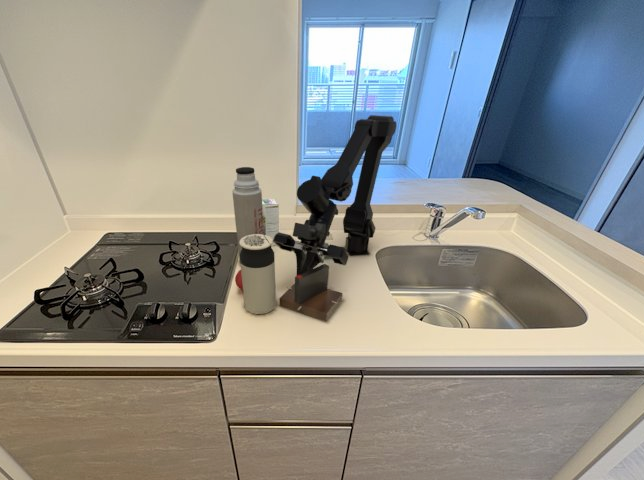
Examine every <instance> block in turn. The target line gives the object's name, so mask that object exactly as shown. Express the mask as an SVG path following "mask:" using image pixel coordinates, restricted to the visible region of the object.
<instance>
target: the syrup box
mask: <svg viewBox="0 0 644 480" xmlns="http://www.w3.org/2000/svg"><path fill="white" fill-rule="evenodd" d="M262 210H263V230H264V235H267V236H269V237H271V238H272V240H273V239H274V236H275V235H276V234H277V233H280V203H278V201H277V200H276V199H275V198H262ZM271 246H277V245H276V244H275V243H274V242H273V243H272V245H271Z"/></svg>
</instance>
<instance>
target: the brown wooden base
mask: <svg viewBox="0 0 644 480" xmlns="http://www.w3.org/2000/svg"><path fill="white" fill-rule="evenodd" d="M286 289H287V290H286V291H285V292H284V293H283V294H282V295H281V296H280V297H279V298H278V299H279V302H278V303H279V307H281V308H284V309H287V310H290V311H293V312H296V313H299V314H302V315H305V316H308V317H311V318H314V319H317V320H320V321H322V322H327V321H328V320H329V319H330V317H331V316H332V315H333V313H334V312H335V310H336V309H337V308H338V307H339V305H340V304H341V303H342V301H343V292H341V291H337V290H334V289H331V288H327V290H325V291H323V292H321V293H319V294H318V295H316V296H314V297H312V298H310V299H308V300H306V301H304V302H302V303H300V304H298V303H296V302H295V283H293V284H292V285H291V286H290V287H289V286H288V287H286Z"/></svg>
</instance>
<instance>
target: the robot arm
mask: <svg viewBox="0 0 644 480" xmlns="http://www.w3.org/2000/svg"><path fill="white" fill-rule="evenodd" d="M396 130H397V121H395V119H394V117H393V116H391V115H377V114H370V115H369V116H368V117H367V118H360V119H358V120H356V122H355V124H354V130H353V132H352V134H351V135H350V137H349V140H348V141H347V143H346V145H345V146H344V149H343V151H342V152H341V155H340V156H339V159H338V160H337V162H336V163H335V165H333V166H331V167H330V168H328V169H327V170H326V172H325V173H324V174H323V176H322V177H320V176H318V175H311V177H310V179H308V180H305V181H303V183H301V184H300V185H298V187H297V190H296V198H297V199H298V201H300V203H301V204H302V205H303V207H304V208H305V209H306V211H307V212H308V213H310V216H309V218H308V219H305V221H304V223H299V222H294V225H293V226H294V227H293V231H292V235H291V234H288V233H283V232H279V233H277V234H276V235H275V236H274V239H273V242H274V243H275V244H276V245H275V246H276V247H278V248H279V249H280V250H282V251H286V252H290V253H292V252H293V253H294V254H295V258H296V259H295V260H296V276H297V275H301V274H303V273H305V272H307V271H309V270H312V269H314V268H316V267H318V265H319V264H324V262H325V261H324V260H325V259H324V256H328V257H332V258H331V259H332V262H333V264H338V265H341V266H347V263H348V261H349V256H351V257H352V256H363V255H364V256H365V255H369V254H370V252H369V250H368V249H369V242H370V239H372V238H374V235H375V232H376V226H375V224H374V221H373V216H374V212H373V209H372V206H371V201H372V198H373V193H374V190H375V184H376V181H377V177H378V172H379V168H380V164H381V159H382V155H383V152H384V151H385V150H386V149H387V148H388V147H389V145H391V143H392V139H393V137H394V135H395V133H396ZM362 157H363V160H362ZM361 160H362V164H361V169H360V173H359V177H358V182H357V186H356V192H355V196H354V201H353V202H352V203H351V204H350V206H347V207H346V209H345V213H344V217H343V220H342V226H343V233H344V234H347V236H346V237H345V243H344V247H343V246H340V245H335V244H331V243H329V244H328V245H329V246H328V248H324V243H326V240H327V237H330V234H331V232H330V229H331V226H332V223H333V220H334V218H335V216H338V215H339V209H338V207H337V203H335V202H334V201H336V202H340V203H341V202H345V201H347V199H348V198H349V197H350V196H351V193H352V188H353V186H354V182H353V181H354V180H353V179H354V178H353V175H354V173H355V171H356V169H357V167H358V165H359V163H360V161H361ZM293 237H295V238H297V239H298V240H295V239H294V238H293ZM306 247H308V248H306ZM315 249H316V250H315ZM306 253H307V255H306Z"/></svg>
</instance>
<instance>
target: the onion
mask: <svg viewBox="0 0 644 480" xmlns="http://www.w3.org/2000/svg"><path fill="white" fill-rule="evenodd" d="M234 282H235V285H236V287H237V288H238V289H240V290H241V291H243V284H242V274H241V269H239V270H238V272H237V273H236V275H235V277H234Z"/></svg>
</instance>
